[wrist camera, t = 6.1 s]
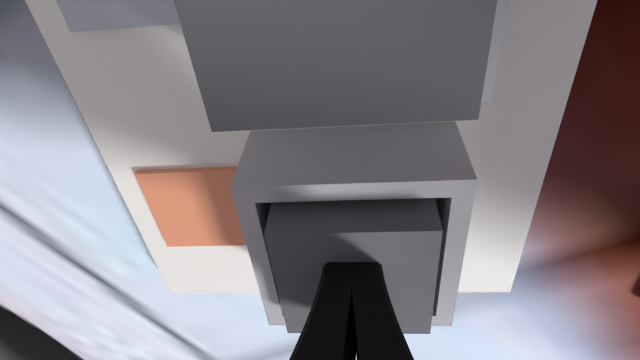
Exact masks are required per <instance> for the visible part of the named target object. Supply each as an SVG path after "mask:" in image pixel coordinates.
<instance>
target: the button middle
mask: <svg viewBox="0 0 640 360" xmlns="http://www.w3.org/2000/svg"><path fill="white" fill-rule="evenodd" d="M174 3H175V7H176V10H177V14H178V17H179V21H180V24H181V27H182V31H183V34H184V38H185V41H186V45H187V48H188V52H189V55H190V59H191V62H192V66H193V69H194V72H195V76H196V79H197V83H198V86H199V90H200V93H201V97H202V100H203V104H204V107H205V110H206V114H207V117H208V121H209V124H210V128H211V131H212V132H223V131H245V130H266V129H288V128H310V127H331V126H353V125H375V124H396V123H418V122H439V121H461V120H478V119H479V113H480V106H481V100H482V94H483V88H484V81H485V75H486V69H487V63H488V56H489V50H490V44H491V38H492V31H493V25H494V19H495V13H496V6H497V0H174Z"/></svg>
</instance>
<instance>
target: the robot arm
mask: <svg viewBox="0 0 640 360" xmlns="http://www.w3.org/2000/svg"><path fill="white" fill-rule="evenodd" d="M356 355H357V360H414V359H413V356H412V354H411V352H410V350H409V347H408V345H407V342H406V340H405V338H404V335H403V333H402V330H401V328H400V325H399V323H398V320H397V317H396V315H395V312H394V309H393V306H392V303H391V300H390V297H389V294H388V290H387V287H386V283H385V279H384V274H383V269H382V265H381V264H380V263H379V262H328V263H326V264H325V265H323V270H322V275H321V279H320V282H319V286H318V289H317V292H316V295H315V298H314V301H313V304H312V307H311V310H310V312H309V315H308V317H307V320H306V322H305V325H304V327H303V330H302V332H301V335H300V337H299V340H298V342H297V344H296V346H295V349H294V351H293V353H292V355H291V357H290V359H289V360H356Z"/></svg>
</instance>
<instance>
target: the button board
mask: <svg viewBox="0 0 640 360" xmlns="http://www.w3.org/2000/svg"><path fill="white" fill-rule="evenodd" d="M25 1H26V4H27V6H28V8H29V10H30V12H31V14H32V16H33V18H34V20H35V22H36V24H37V26H38V28H39V30H40V32H41V34H42V36H43V38H44V40H45V42H46V44H47V46H48V48H49V50H50V52H51V54H52V56H53V58H54V60H55V62H56V64H57V66H58V68H59V70H60V72H61V74H62V76H63V78H64V80H65V82H66V84H67V86H68V88H69V90H70V92H71V94H72V96H73V98H74V100H75V102H76V104H77V106H78V108H79V110H80V112H81V114H82V116H83V118H84V120H85V122H86V124H87V126H88V129H89V131H90V133H91V135H92V137H93V139H94V141H95V143H96V145H97V147H98V149H99V151H100V153H101V155H102V157H103V159H104V161H105V163H106V165H107V167H108V169H109V171H110V173H111V175H112V177H113V179H114V181H115V183H116V185H117V187H118V189H119V191H120V193H121V195H122V197H123V199H124V201H125V203H126V205H127V207H128V209H129V211H130V213H131V215H132V217H133V219H134V221H135V223H136V225H137V227H138V229H139V231H140V233H141V235H142V237H143V239H144V241H145V243H146V245H147V247H148V249H149V252H150V254H151V256H152V258H153V260H154V262H155V264H156V266H157V268H158V270H159V272H160V274H161V276H162V278H163V280H164V282H165V284H166V286H167V288H168V290H169V292H170V294H183V293H260V294H261V298H262V301H263V305H264V308H265V312H266V315H267V319H268V322H269V325H286V323H285V319H284V315H283V311H282V307H281V303H280V299H279V294H278V290H277V286H276V282H275V278H274V274H273V270H272V266H271V262H270V257H269V253H268V249H267V245H266V241H265V237H264V232H265V227H266V223H267V219H268V215H269V210H270V206H271V202H305V201H341V200H377V199H414V198H435V200H436V204H437V208H438V213H439V217H440V221H441V225H442V230H443V233H442V241H441V249H440V257H439V266H438V274H437V282H436V290H435V298H434V306H433V314H432V322H431V326H452V321H453V315H454V310H455V304H456V298H457V293H458V292H510V291H511V288H512V284H513V281H514V278H515V274H516V271H517V268H518V264H519V261H520V257H521V254H522V251H523V247H524V244H525V241H526V237H527V234H528V231H529V227H530V224H531V221H532V217H533V214H534V211H535V207H536V204H537V201H538V197H539V194H540V191H541V187H542V184H543V181H544V177H545V174H546V171H547V167H548V164H549V161H550V157H551V154H552V151H553V147H554V144H555V140H556V137H557V134H558V130H559V127H560V124H561V120H562V117H563V114H564V110H565V107H566V104H567V100H568V97H569V94H570V90H571V87H572V84H573V80H574V77H575V74H576V70H577V67H578V64H579V60H580V57H581V54H582V50H583V47H584V44H585V40H586V37H587V34H588V30H589V27H590V23H591V20H592V17H593V13H594V10H595V7H596V3H597V0H497V6H496V13H495V19H494V25H493V31H492V38H491V44H490V50H489V56H488V63H487V69H486V75H485V81H484V88H483V94H482V100H481V106H480V113H479V119H478V120H461V121H439V122H418V123H396V124H375V125H353V126H331V127H310V128H288V129H266V130H245V131H223V132H212V131H211V128H210V124H209V121H208V117H207V114H206V110H205V107H204V104H203V100H202V97H201V93H200V90H199V86H198V83H197V79H196V76H195V72H194V69H193V66H192V62H191V59H190V55H189V52H188V48H187V45H186V41H185V38H184V34H183V31H182V27H181V24H180V21H179V17H178V14H177V10H176V7H175V3H174V0H25Z"/></svg>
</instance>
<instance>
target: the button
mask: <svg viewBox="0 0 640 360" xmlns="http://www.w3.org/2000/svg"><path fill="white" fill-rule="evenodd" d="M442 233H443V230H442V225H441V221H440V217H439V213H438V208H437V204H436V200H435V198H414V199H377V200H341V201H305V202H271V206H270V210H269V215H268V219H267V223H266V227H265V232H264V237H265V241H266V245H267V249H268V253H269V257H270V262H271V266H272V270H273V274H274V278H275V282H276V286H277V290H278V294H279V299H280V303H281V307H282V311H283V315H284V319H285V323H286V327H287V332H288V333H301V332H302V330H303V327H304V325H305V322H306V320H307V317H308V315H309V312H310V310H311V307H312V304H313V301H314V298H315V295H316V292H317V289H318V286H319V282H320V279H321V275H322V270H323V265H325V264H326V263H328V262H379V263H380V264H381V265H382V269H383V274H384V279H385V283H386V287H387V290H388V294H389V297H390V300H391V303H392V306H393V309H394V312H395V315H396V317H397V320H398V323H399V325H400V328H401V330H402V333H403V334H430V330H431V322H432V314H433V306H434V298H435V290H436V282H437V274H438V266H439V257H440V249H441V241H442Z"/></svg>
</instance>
